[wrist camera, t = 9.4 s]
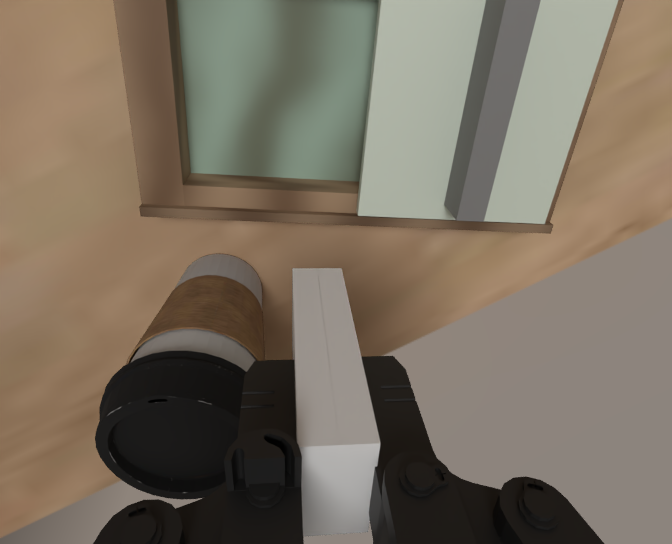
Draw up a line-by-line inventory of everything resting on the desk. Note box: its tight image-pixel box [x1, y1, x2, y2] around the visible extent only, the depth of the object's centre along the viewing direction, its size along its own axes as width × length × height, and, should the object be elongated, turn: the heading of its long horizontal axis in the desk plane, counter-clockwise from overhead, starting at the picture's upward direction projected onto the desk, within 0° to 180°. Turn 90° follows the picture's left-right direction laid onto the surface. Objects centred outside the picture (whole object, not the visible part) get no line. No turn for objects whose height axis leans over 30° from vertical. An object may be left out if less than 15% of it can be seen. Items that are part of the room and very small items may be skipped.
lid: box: [356, 0, 618, 224], centre depth 24 cm, size 12×13×3 cm
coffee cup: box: [95, 254, 265, 499], centre depth 28 cm, size 8×8×15 cm
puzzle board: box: [113, 0, 624, 234], centre depth 26 cm, size 26×15×4 cm, turn 86°
